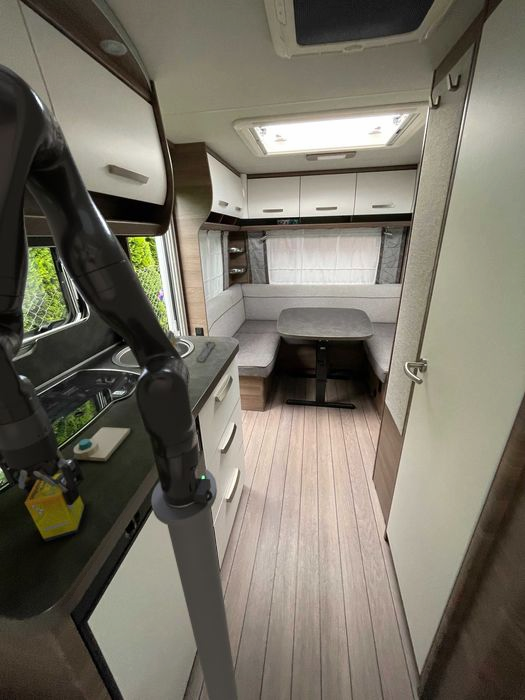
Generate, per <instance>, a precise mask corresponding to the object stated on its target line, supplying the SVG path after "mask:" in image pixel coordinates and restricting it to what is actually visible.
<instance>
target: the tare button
mask: <svg viewBox="0 0 525 700" xmlns="http://www.w3.org/2000/svg"><path fill="white" fill-rule="evenodd" d="M89 439H90V438H84V439H81V440H80V441H79V442H78V443H79V447H80V449H81V450H85V449H88V448H90V447H91V442H90V440H89Z"/></svg>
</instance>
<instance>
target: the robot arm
mask: <svg viewBox="0 0 525 700" xmlns="http://www.w3.org/2000/svg"><path fill="white" fill-rule="evenodd" d="M26 188H27V189H28V191H29V192H30V194H31V195H32V196H33V198H34V199H35V201H36V203H37V204H38V206H39V208H40V209H41V212H42V213H43V215H44V217H45V220H46V222H47V224H48V228H49V230H50V233H51V236H52V240H53V243H54V246H55V249H56V252H57V255H58V257H59V261H60V262H61V264H62V267H63V268H64V270H65V272H66V274H67V276H68V277H69V279H70V280H71V282H72V284H73V285H74V287H75V289H76V290H77V292H78V294H79V295H80V296H81V298H82V300H83V301H84V303H85V304H86V305H87V307H88V308H89V309H90V310H91V312H92V313H93V314H94V315H95V316H97V318H99V319H100V320H101V322H103V323H104V324H106V325H107V326H108V327H109V328H110V329H111V330H112V331H114V332H115V333H117V335H119V336H120V337H121V339H122V340H123V341H124V342H125V343H126V345H127V346H128V348H129V349H130V351H131V353H132V356H133V355H134V356H135V357H134V356H133V357H134V358H135V360H136V362H137V364H138V367H139V370H140V374H139V377H138V378H137V381H136V383H135V388H134V394H135V395H134V396H135V400H136V405H137V407H138V409H137V410H138V413H139V417H140V419H141V422H142V423H141V424H142V426H143V428H144V431H145V432H146V433H147V435H148V437H149V440H150V445H151V449H152V453H153V457H154V460H155V461H154V463H155V466H156V470H157V475H158V480H159V481H158V483H160V484H161V485H160V487H161V489H162V492H163V498H164V501H165V503H166V504H167V505H168V506H169V507H171V508H175V509H182V508H186V507H189V506H191V505H193V504H199V503H206V502H208V501H210V500H211V499H212V497H213V495H212V493H211V491H210V488H211V484H210V479H207V476H206V470H207V469H206V463H205V456H204V451H203V450H200V446H199V440H198V434H197V427H196V426H197V425H196V418H195V416H194V414H193V412H192V406H191V400H190V393H189V386H190V377H191V376H190V370H189V368H188V365H187V363H186V362H185V360H184V358H183V357H182V355H181V354H180V352H178V351H177V350H176V348H175V347H174V345H173V344H172V342H171V341H170V339H169V338H168V336H167V335H166V332H165V329H164V327H162V324H161V323H160V322H161V321H159V318H158V315H157V313H156V311H155V309H154V307H153V305H152V302H151V301H150V298H149V297H148V295H147V293H146V291H145V289H144V286H143V284H142V283H141V282H142V281H141V280H140V277H139V276H138V275H137V272H136V270H135V268H134V267H133V265H132V262H131V261H130V259H129V257H128V255H127V254H126V252H125V250H124V249H123V247H122V245H121V243H120V241H119V240H118V238H117V236H116V235H115V233H114V231H113V229H112V228H111V226H110V225H109V223H108V222H107V220H106V219H105V216H103V214H102V213H101V211H100V209H99V208H98V206H97V205H96V204H95V202H94V200H93V198H92V196H91V194H90V192H89V190H88V188H87V186H86V184H85V182H84V179H83V177H82V174H81V173H80V170H79V167H78V166H77V164H76V161H75V159H74V156H73V154H72V151H71V149H70V146H69V144H68V141H67V138H66V136H65V134H64V132H63V129H62V127H61V125H60V122H59V121H58V120H57V118H56V117H55V115H54V113H53V112H52V111H51V109H50V108H49V107H48V106H47V104H46V103H45V102H44V101H43V100H42V98H41V97H40V95H39V94H38V93H37V92H36V90H34V88H33V87H32V86H31V85H30V84H29V83H28V82H27V81H26V80H25V79H24V78H23V77H21V76H20V75H19V74H17V73H16V72H15V71H13V69H11V68H9V67H7V66H6V65H4V64H1V63H0V453H1V456H2V457H3V459H2V460H0V469H1V472H2V473H3V475H4V477H5V479H6V481H7V483H8V485H9V486H11V487H14V486H15V485H17V487H18V488H19V489H21V490H23V492H24V493H25V496H26V497H27V498H28V496H29V494H30V492H31V490H32V488H33V486H34V484H35V482H36V480H43V481H46V482H47V483H48V484H49V485H50V486H52V487H54V486H56V487H58V488H59V489H60V490H61V491H63V492H62V494H63V496H64V498H65V501H66V503H67V505H73V503H74V502H75V501H76V500H77V498H78V497H79V495H80V493H79V490H78V487H79V486H80V485H81V484H82V483H83V482H84V480H85V477H84V475H83V471H82V468H81V466H80V464H79V461H78V459H76V458H75V457H74V456H71V457H70V458H69V459H65V460H62V459H61V458H60V457H59V455H58V454H57V449H59V440H58V438H57V435H56V433H55V430H54V427H53V426H52V423H51V420H50V417H49V415H48V413H47V411H46V410H45V409H44V407H43V404H42V403H41V400H40V397H39V396H38V393H37V391H36V388H35V385H34V384H33V382H32V381H31V379H30V378H29V377H27V376H24V375H19V373H18V371H17V369H16V367H15V365H14V362H13V359H14V358H15V357H16V356H17V355H18V354H19V352H20V351H21V348H22V346H23V342H24V335H25V334H24V333H25V323H24V322H25V321H24V309H23V307H24V300H25V296H26V291H27V285H28V278H29V277H28V276H29V269H30V252H29V242H28V235H27V228H26V221H25V197H26V196H25V195H26ZM58 470H60V471H61V474H60V475H59V476H58V477H57V478H56V479H53V477H54V476H55V475H56V474H57V472H58ZM15 473H16V475H15ZM63 478H65V480H66V482H67V483H66V484H64V483H62V481H61V480H62V479H63ZM208 495H209V497H208ZM207 497H208V498H207Z"/></svg>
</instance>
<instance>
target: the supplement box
mask: <svg viewBox="0 0 525 700" xmlns="http://www.w3.org/2000/svg"><path fill="white" fill-rule="evenodd" d="M60 474H61V473H60ZM60 474H56V475H55V476H54V477H53V479H56V478H57V477H58V476H59V475H60ZM61 481H62V483H64V484H66V483H67V482H66V480H65V478H63V479H62V480H61ZM62 492H63V491H61V490H60V489H59V488H58V487H56V486H54V487H52V486H50V485H49V484H48V483H47V482H46V481H43V480H36V482H35V484H34V486H33V488H32V490H31V492H30V494H29V496H28V497H27V498H26V500H25V501H24V505H25V506H26V509H27V511H28V512H29V514H30V515H31V518H32V520H33V522H34V523H35V525H36V528H37V530H38V531H39V533H40V535H41V537H42V538H43V541H44V542H48V541H52V540H55V539H58V538H61V537H65V536H68V535H69V536H70V535H71V534H72V535H73V534H74V533H78V532H79V529H80V526H81V522H82V518H83V515H84V511H85V504H84V502H83V500H82V498H81V496H80V494H79V497H78V498H77V500H76V501H75V502H74V503H73V505H67V503H66V501H65V498H64V496H63V494H62Z"/></svg>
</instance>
